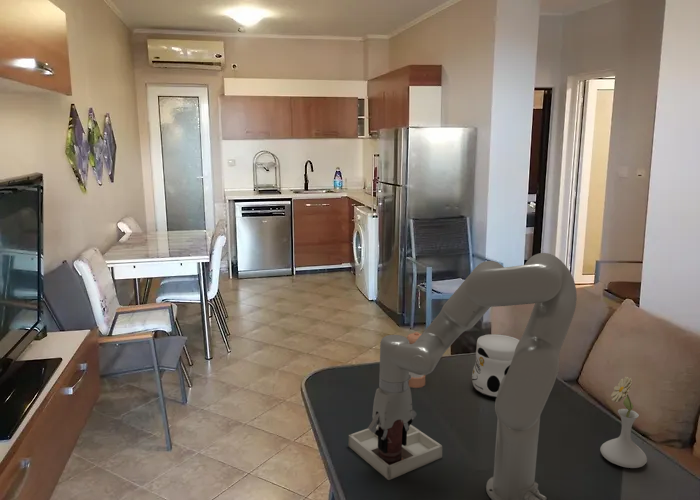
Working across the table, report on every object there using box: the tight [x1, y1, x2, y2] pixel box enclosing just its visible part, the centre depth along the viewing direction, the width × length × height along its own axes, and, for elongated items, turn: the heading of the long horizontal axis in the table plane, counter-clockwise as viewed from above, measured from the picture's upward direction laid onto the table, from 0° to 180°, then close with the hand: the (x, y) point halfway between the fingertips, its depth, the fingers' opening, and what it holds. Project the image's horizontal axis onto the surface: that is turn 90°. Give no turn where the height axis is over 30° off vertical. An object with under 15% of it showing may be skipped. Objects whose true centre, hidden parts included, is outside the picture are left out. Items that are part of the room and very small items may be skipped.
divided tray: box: [347, 424, 443, 481], centre depth 148 cm, size 18×18×4 cm
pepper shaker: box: [406, 331, 426, 389], centre depth 189 cm, size 7×7×19 cm
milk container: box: [471, 333, 520, 399], centre depth 184 cm, size 17×17×18 cm
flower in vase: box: [599, 376, 648, 469], centre depth 143 cm, size 13×11×25 cm
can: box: [378, 419, 403, 465], centre depth 141 cm, size 6×6×14 cm
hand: (392, 446), depth 142 cm, fingers open, 5 cm apart
